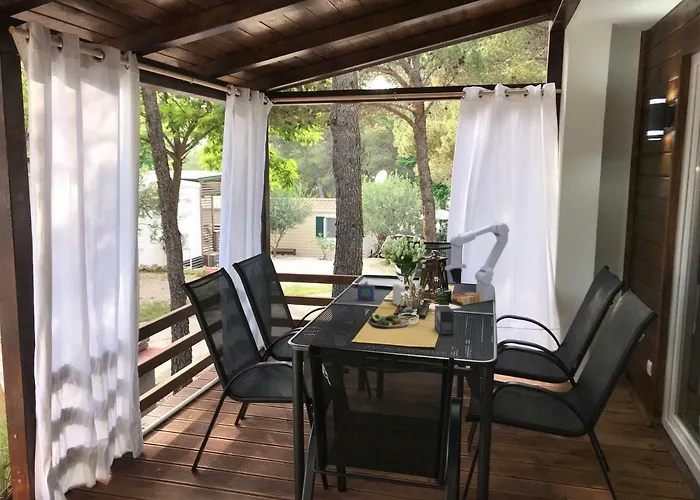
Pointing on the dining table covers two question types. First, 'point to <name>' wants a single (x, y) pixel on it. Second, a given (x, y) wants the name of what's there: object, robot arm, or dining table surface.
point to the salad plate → (387, 321)
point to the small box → (444, 320)
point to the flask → (366, 292)
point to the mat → (432, 305)
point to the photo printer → (397, 292)
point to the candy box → (466, 298)
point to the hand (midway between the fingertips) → (455, 282)
